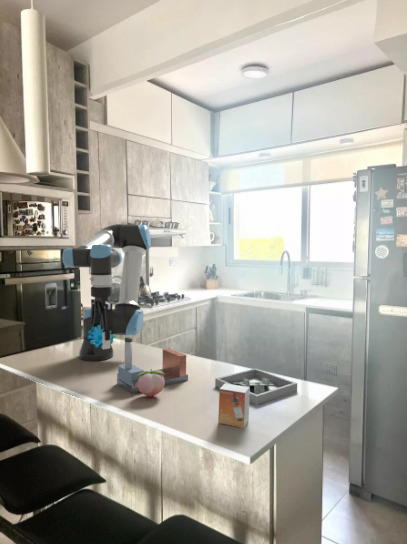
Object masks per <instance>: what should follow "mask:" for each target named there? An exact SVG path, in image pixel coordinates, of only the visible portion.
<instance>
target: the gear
mask: <svg viewBox="0 0 407 544" xmlns="http://www.w3.org/2000/svg"><path fill="white" fill-rule="evenodd" d="M100 328H101V326H100V325H98V326H97V331H96V330H95V327H92V328H91V329H92V330H93V332H94V333H92V330H89V331H88V333H89V334H91V335H92V336H93V337H92V336H91V335H88V339H93V340H95V341H93V340H91V341H90V343H91V344H93V343H95V347H96V348H98V347H99V345H100V344H102V346H101V349H103V332H102V331H103V330H104V329H102V330H99V329H100ZM110 334H111V331H110ZM116 337H117V335H116V334H114V335H110V344H111V345H112V344H113V343H114V339H115V338H116Z"/></svg>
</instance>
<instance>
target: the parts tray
mask: <svg viewBox="0 0 407 544" xmlns="http://www.w3.org/2000/svg"><path fill="white" fill-rule="evenodd" d="M252 378H256V379H257V378H258V379H260V380H262V378H265V379H269V381H270V382H273V383H272V384H274V385H276V386H279V387H276V388H273V389H270V390H267V391H264V393H261V394H257V395H256V394H254V392H251V391H250V397H249V403H251V404H253V405H255V406H258V405H262V404H265V403H267V402H270V401H272V400H276V399H278V398H282V397H284V395H285V396H287V394H288V395H290V394H289V393H291V394H293V393H292V392H294V393H296V392H297V391H298V382H296V381H293V380H289V379H287V378H284V377H281V376H278V375H276V374H272V373H269V372H268V371H265V370H261V369H259V368H251V369H247V370H243V371H239V372H235V373H231V374H228V375H224V376H221V377H216V378H215V379H214V380H215V382H214V383H215V384H214V386H215V388H218V389H220V388H221V387H222V386H223V385H224V384H225V383H227V384H232V383H239V382H241V381H243V379H247V380H250V379H252ZM232 385H234V384H232ZM295 391H296V392H295ZM281 396H282V397H281Z"/></svg>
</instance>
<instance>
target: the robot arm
mask: <svg viewBox="0 0 407 544" xmlns="http://www.w3.org/2000/svg"><path fill="white" fill-rule="evenodd" d="M151 245H152V241H151V233H150V229H149V227H148V226H147V225H146V224H121V223H120V224H112V225H109V226H106V227H104V228H101V229H99V230H98V231H96V233H95V235H94V236H92V237H91V238H90V239H88V240H87V241H84V243H82V244H80V245H79V246H77V247H70V248H69V247H68V248H67V247H66V248H65V249H64V250H63V251H62V256H61V257H62V264H63V266H65V267H69V268H90V277H89V280H90V285H91V287H90V296H91V297H92V298H91V300H90V307H87V308H85V309H84V310H83V313H82V314H83V315H82V325H83V326H82V337H83V338H82V339H83V340H82V343H81V346H80V349H79V353H78V355H79V356H78V357H79V358H78V359H80V360H83V361H88V362H96V361H97V362H98V361H100V362H101V361H105V360H109V359H112V358H113V357H114V349H113V347H112V344H110V335H114V334H116V336H126V337H129V336H136V335H138V334H139V333H140V332H141V330H142V327H143V323H144V311H143V309H141V306H140V304H139V303H138V302H139V293H140V283H141V275H142V274H141V273H142V264H143V256H145V255H146V254H147V250H149V249H151ZM118 249H121V251H122V252H123V254H124V256H123V257H122V253H121V252H120V250H118ZM122 259H123V264H122V273H121V282H120V290H119V297H118V298H119V299H118V301H117V302H116V303H115V305H114V308H113V303H111V302H110V303H109V297H111V296H113V295H112V291H113V290H112V285H113V284H112V283H113V277H112V276H113V274H112V273H113V272H112V269H114V268H116V267H118V266H119V265H120V264H121V263H122ZM98 325H100V326H101V328H100V329H99V330H102V329H104V330H103V331H102V332H103V349H101V346H102V344H100V345H99V347H98V348H96V347H95V343H93V344H91V343H90V341H91V340H93V339H88V335H91V334H89V333H88V331H89V330H92V329H91V328H92V327H95V330H96V331H97V326H98ZM110 331H111V334H110ZM92 333H94V332H93V330H92ZM91 336H92V335H91ZM92 337H93V336H92ZM93 341H95V340H93Z"/></svg>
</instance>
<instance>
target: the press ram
mask: <svg viewBox="0 0 407 544" xmlns="http://www.w3.org/2000/svg"><path fill="white" fill-rule="evenodd" d="M117 368H118V369H117V371H118V372H117V373H118V379H120V380H121V381H123V382H125V383H126V384H128V385H129V386H131V387H132V382H134V381H138V379H139V377H140V376H138V375H139V374H140V373H141V372H144V371H145V370H144V369H141V368H140V367H138V366H136V365H134V364H133V337H129V336H126V337H124V364H120V365H118V366H117ZM137 376H138V377H137Z"/></svg>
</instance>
